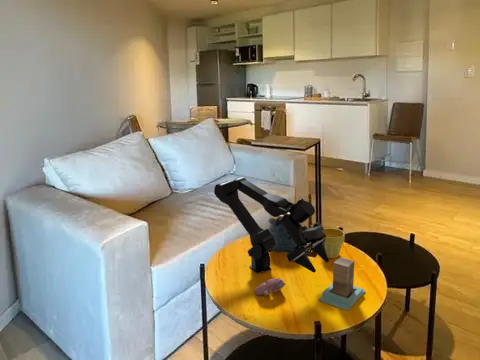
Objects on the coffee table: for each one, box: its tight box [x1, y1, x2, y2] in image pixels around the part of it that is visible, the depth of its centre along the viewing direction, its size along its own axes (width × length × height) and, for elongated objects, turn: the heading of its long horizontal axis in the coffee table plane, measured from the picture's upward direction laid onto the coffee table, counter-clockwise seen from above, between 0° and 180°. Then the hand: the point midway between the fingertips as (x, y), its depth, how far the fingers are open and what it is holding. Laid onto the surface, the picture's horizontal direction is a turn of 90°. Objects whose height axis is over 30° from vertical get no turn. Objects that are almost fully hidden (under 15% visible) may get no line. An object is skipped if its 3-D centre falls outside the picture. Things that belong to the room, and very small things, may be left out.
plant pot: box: [322, 227, 346, 259], centre depth 169 cm, size 10×10×10 cm
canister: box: [267, 212, 296, 253], centre depth 177 cm, size 13×13×18 cm
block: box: [332, 256, 355, 298], centre depth 138 cm, size 5×5×12 cm
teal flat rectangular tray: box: [318, 282, 366, 311], centre depth 139 cm, size 14×10×2 cm
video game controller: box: [254, 277, 286, 297], centre depth 142 cm, size 10×5×7 cm
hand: (321, 266), depth 142 cm, fingers open, 9 cm apart
